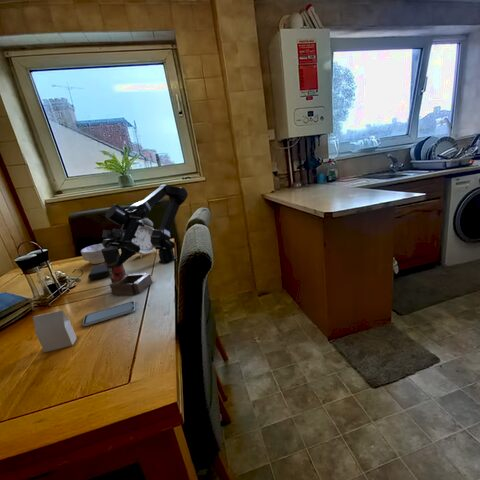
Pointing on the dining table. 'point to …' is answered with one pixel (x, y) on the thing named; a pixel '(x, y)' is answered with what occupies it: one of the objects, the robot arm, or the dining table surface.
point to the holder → (131, 284)
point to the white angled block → (54, 330)
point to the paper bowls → (93, 254)
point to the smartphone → (109, 313)
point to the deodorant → (113, 262)
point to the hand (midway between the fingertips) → (111, 264)
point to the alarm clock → (144, 237)
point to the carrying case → (98, 272)
